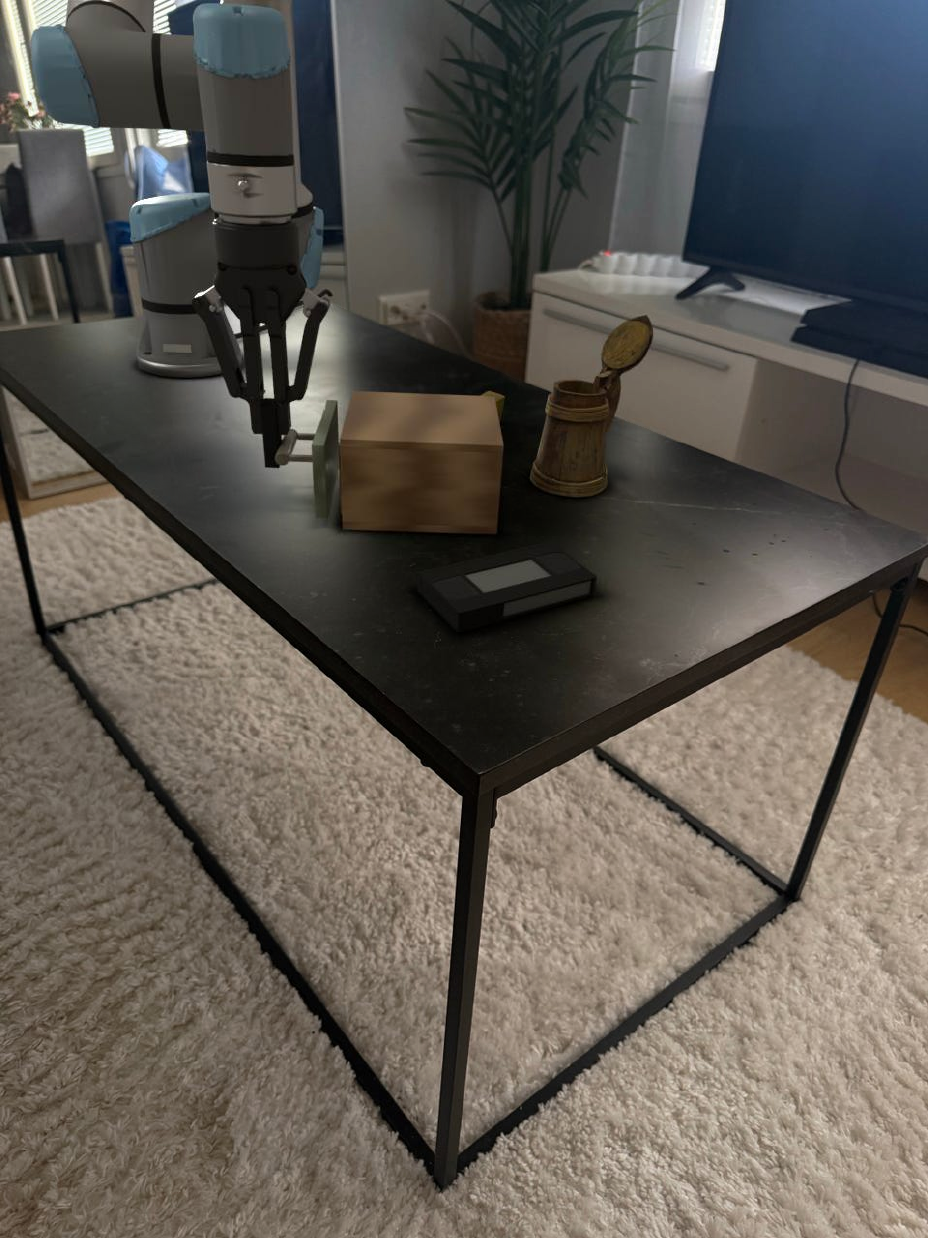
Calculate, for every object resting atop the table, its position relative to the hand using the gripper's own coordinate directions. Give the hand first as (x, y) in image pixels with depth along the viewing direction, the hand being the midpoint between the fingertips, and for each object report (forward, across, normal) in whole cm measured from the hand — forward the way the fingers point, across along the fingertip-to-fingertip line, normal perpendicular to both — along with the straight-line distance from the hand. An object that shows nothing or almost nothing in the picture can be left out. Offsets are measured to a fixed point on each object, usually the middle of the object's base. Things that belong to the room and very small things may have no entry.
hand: (274, 462), depth 88 cm
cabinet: (+4, +16, 0) cm, 16 cm away
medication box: (+4, +22, +21) cm, 31 cm away
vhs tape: (+4, +24, -19) cm, 30 cm away
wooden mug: (+4, +34, +8) cm, 36 cm away
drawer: (+3, +10, 0) cm, 10 cm away
